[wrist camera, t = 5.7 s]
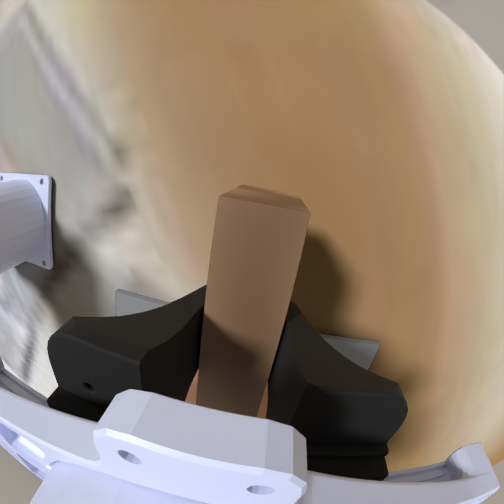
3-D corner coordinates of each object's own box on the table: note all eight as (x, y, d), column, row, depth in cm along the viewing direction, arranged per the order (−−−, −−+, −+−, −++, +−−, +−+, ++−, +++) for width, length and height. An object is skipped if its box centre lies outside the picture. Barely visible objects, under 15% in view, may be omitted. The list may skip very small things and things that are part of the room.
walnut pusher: (215, 362, 15) (194, 427, 11) (242, 184, 12) (218, 196, 7) (258, 370, 15) (249, 438, 10) (298, 195, 12) (310, 213, 7)
